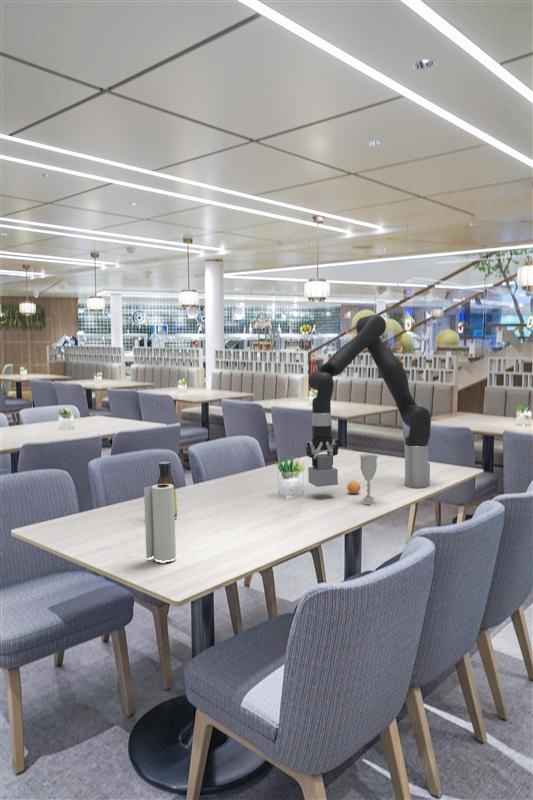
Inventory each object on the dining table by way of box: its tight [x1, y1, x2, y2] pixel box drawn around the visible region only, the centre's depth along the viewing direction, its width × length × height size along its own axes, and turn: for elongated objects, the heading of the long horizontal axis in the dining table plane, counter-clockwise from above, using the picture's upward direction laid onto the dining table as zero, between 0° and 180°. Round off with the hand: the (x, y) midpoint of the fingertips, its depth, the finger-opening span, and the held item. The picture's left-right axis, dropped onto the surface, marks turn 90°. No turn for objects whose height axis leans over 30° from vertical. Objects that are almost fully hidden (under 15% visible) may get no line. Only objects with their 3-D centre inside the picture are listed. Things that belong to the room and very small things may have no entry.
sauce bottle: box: [156, 461, 178, 518], centre depth 213 cm, size 7×6×20 cm
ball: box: [347, 480, 361, 495], centre depth 245 cm, size 5×5×5 cm
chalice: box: [359, 453, 378, 506], centre depth 230 cm, size 7×7×18 cm
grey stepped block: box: [307, 453, 339, 488], centre depth 240 cm, size 9×9×11 cm
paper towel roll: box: [143, 484, 177, 561], centre depth 173 cm, size 7×6×21 cm
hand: (322, 466), depth 240 cm, fingers closed on grey stepped block, 5 cm apart
